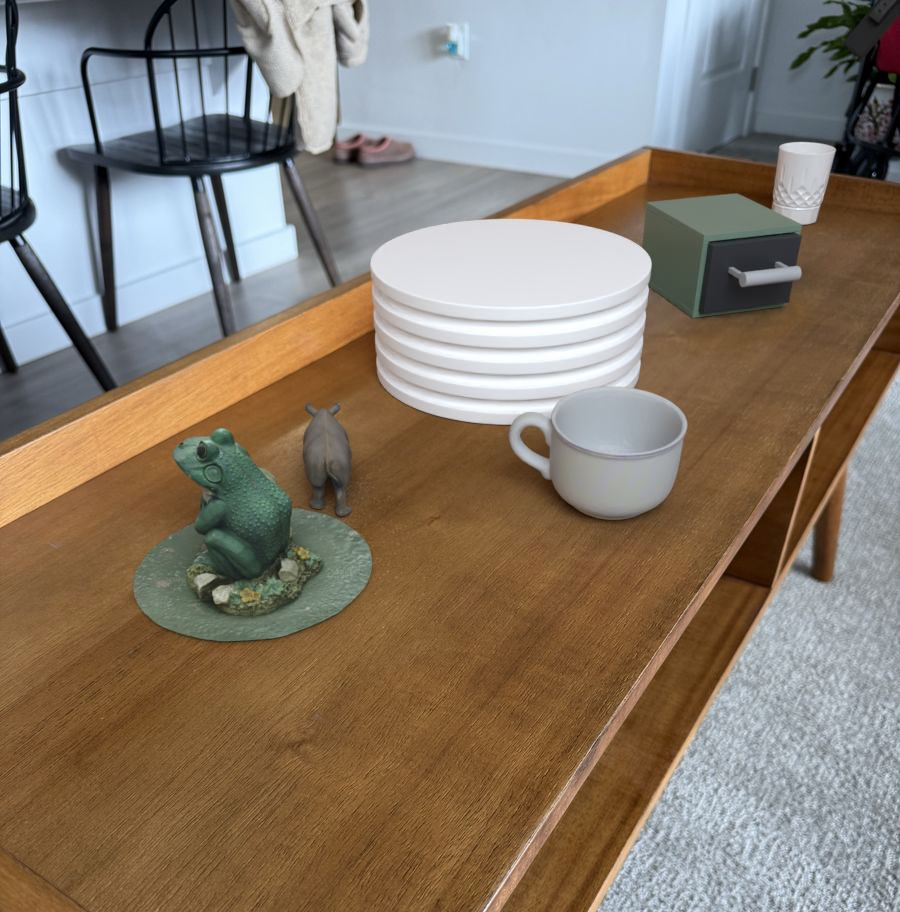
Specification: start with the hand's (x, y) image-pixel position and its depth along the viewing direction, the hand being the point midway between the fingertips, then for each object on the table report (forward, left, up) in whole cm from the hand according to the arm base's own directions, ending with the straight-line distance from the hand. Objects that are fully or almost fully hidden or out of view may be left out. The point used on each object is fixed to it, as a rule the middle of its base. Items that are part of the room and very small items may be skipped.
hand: (852, 50), depth 114 cm
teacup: (-3, +70, -25) cm, 75 cm away
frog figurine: (+14, +93, -25) cm, 98 cm away
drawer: (+4, +20, -24) cm, 31 cm away
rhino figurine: (+18, +79, -25) cm, 85 cm away
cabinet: (+7, +17, -25) cm, 31 cm away
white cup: (+8, -20, -25) cm, 33 cm away
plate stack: (+17, +50, -25) cm, 59 cm away
